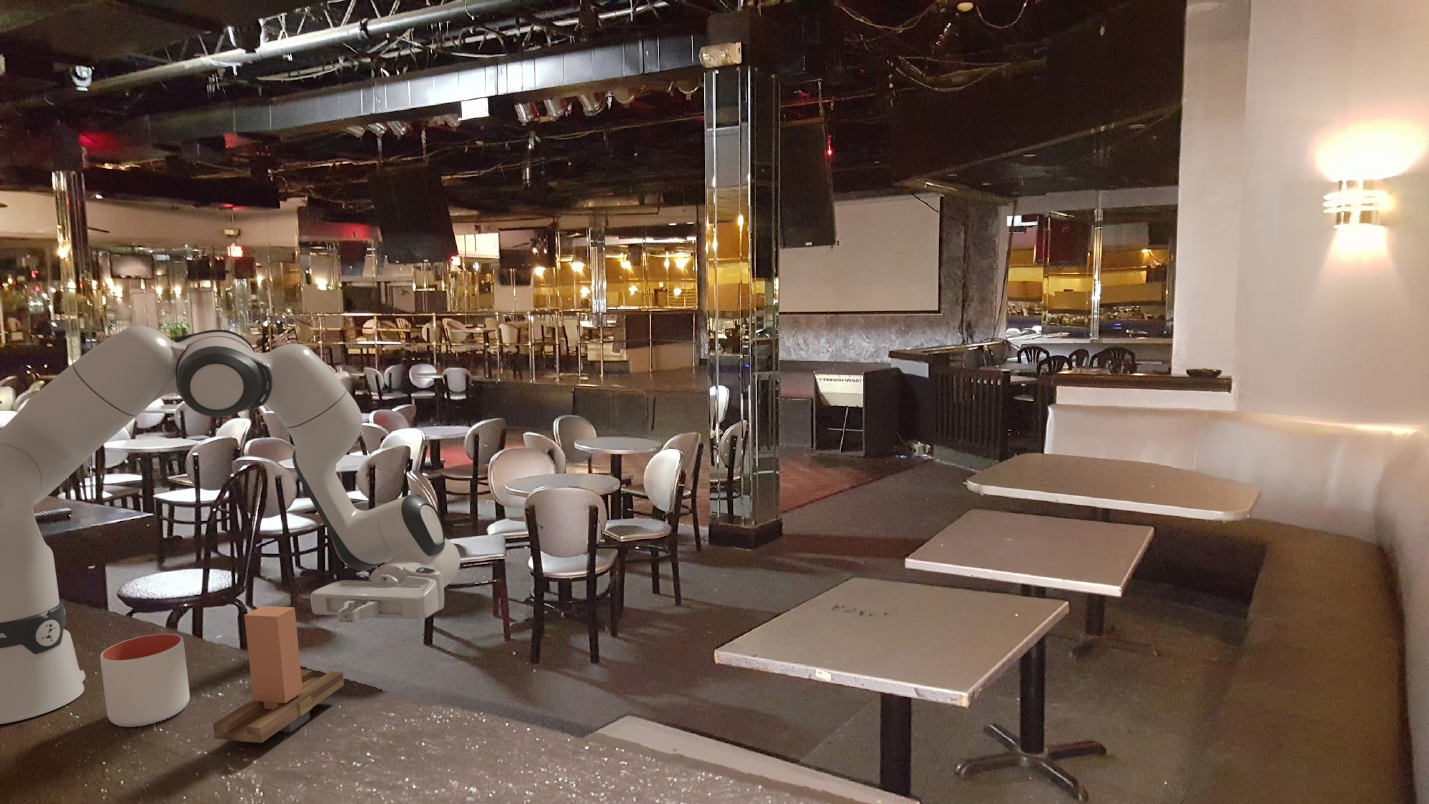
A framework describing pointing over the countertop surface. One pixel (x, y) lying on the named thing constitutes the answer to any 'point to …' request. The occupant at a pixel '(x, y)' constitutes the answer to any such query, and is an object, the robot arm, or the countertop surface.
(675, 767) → the countertop surface
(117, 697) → the cup
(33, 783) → the countertop surface
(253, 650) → the plate
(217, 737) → the beam
